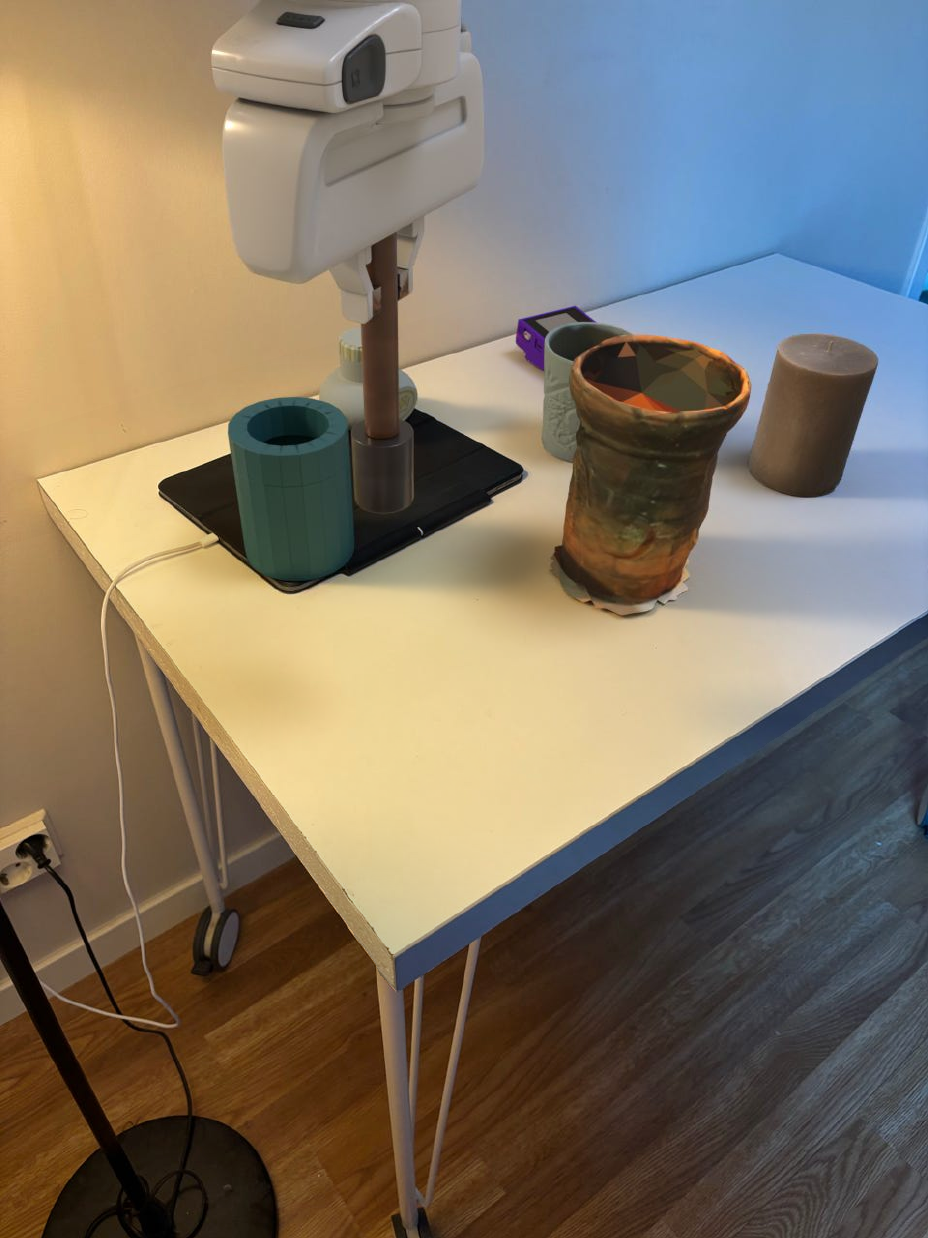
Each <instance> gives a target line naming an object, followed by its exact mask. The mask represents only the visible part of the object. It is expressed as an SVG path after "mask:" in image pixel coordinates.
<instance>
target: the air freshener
mask: <svg viewBox="0 0 928 1238" xmlns="http://www.w3.org/2000/svg"><path fill="white" fill-rule="evenodd" d="M338 351H339V367H337V368H336V369H334V370H333V371H332V372H330V373H329V375H327V376H326V377H325V379H324V381H322V383H321V385H320V387H319V391H318V400H320V401H323V402H327V403H330V404H331V405H333V406H335V407H337V408H338V409H340V410H341V412H342V413H343V414H344V415H345V416H346V418H347V423H348V431H351V430H352V428H353V426H354V425H355V424H356V423H358V422H359V421H361V420H364V395H363V370H362V344H361V326H355V327H351V328H349V329H346V330H344V332H342V334H340V336H339V338H338ZM418 397H419V394H418V389H417V386H416V385H415V382H414V380H413V379H412V378H411V377H410V376H409V374H407V373H406V372H405V371H404V370H402V369H401V368H399V419H401V420H403V421H406V420H407V419H408V418H409V416H410V415H411V414H412V413H413V411H414V409H415V407H416V406H417V404H418Z"/></svg>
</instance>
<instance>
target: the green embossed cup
mask: <svg viewBox="0 0 928 1238" xmlns="http://www.w3.org/2000/svg"><path fill="white" fill-rule="evenodd" d="M596 322H597V321H596ZM596 322H577V323H569V324H565V325H561V326H559V327H556V328H554V329H553V330H551V331H550V332H549V333H548V334H547V336H546V338H545V353H544V369H545V371H544V375H543V376H544V377H543V394H544V395H543V401H542V402H543V403H542V404H543V406H542V410H543V411H542V430H541V443H542V446H543V448H544V449H545V451H546V452H547V453H548V454H550V455H551V456H553V457H555V458H557V459H559V460H560V461H561V460H562V461H565V462H568V463H572V464H573V457H574V454H575V452H576V450H577V441H576V432H577V431H578V430H579V426H580V420H579V418H578V416H577V413H576V408H577V406H576V404H575V402H574V399H573V397H572V395H571V391H570V384H569V376H570V372H571V369H572V365H573V363H574V359H575V358H576V357H578V356H579V355H580V354H581V353H583V352H585V351H586V350H588V349H590V348H592V347H594V346H596V345H598V344H600V343H601V342H603V341H604V340H606V339H610V338H613V337H616V336H621V335H635V334H634V333H632V332H631V331H629V330H626V329H624V328H622V327H619V326H615V325H612V324H608V323H604V322H597V323H596Z"/></svg>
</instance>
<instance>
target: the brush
mask: <svg viewBox="0 0 928 1238" xmlns="http://www.w3.org/2000/svg"><path fill="white" fill-rule="evenodd" d="M371 259H372V260H371V263H369V264H367V265H366V269H367V272H368V275H369V278H370V281H371V283H372V284H373V285H377V286H381V300H380V304H381V312H380V314H379V315H377V316H376V317H374V318H373V319H372V320H370V321H368V322H367V323H365V324H361V323H360V327H361V344H362V370H363V395H364V420H361V421H359V422H358V423H356V424H355V425H354V426H353V428H352V430H350V441H351V442H350V443H351V444H350V445H351V447H350V448H351V463H352V464H351V466H352V485H353V499H354V502H355V503H356V505H357V506H358V507H360V508H361V509H362V510H365V511H367V512H371V513H374V514H393V513H397V512H400V511H402V510H403V511H404V510H405V509H406V508H408V507H409V506H410V505H411V504H412V502H413V501H414V497H415V483H414V482H415V477H414V476H415V471H414V469H415V466H414V465H415V461H414V460H415V458H414V457H415V455H414V454H415V453H414V452H415V451H414V450H415V449H414V447H415V446H414V445H415V442H414V441H415V440H414V438H415V437H414V436H415V435H414V434H415V433H414V429H413V427H412V425H411V424H410V423H408V422H407V421H406V420H404V421H403V420H401V419H399V369H400V367H399V366H400V364H399V363H400V362H399V361H400V360H399V359H400V358H399V356H400V355H399V301H398V275H397V232H395V233H393V234H391V235H389V236H388V237H386V238H384V239H382V240H380V241H379V242H377V243H375V244H373V245H372V246H371Z"/></svg>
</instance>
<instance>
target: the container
mask: <svg viewBox="0 0 928 1238" xmlns="http://www.w3.org/2000/svg"><path fill="white" fill-rule="evenodd" d="M227 436H228V437H227V438H228V444H229V450H230V456H231V457H230V459H231V462H232V471H233V477H234V485H235V490H236V498H237V506H238V511H239V516H240V517H239V518H240V525H241V532H242V539H243V545H244V552H245V554H246V558H247V561H248V563H249V564H250V566H251V567H252V568H253V569H254V570H255V571H257V572H258V573H260V574H261V575H263V576H265V577H268V578H271V579H275V580H279V581H284V582H285V581H286V582H305V581H306V582H307V581H313V580H318V579H321V578H324V577H326V576H330V575H332V574H334V573H336V572H337V571H339V570H340V569H342V568H343V567H345V566H346V565H347V563H349V561H350V560H351V558H352V556H353V554H354V552H355V551H354V550H355V531H354V512H353V495H352V494H353V493H352V492H353V491H352V475H351V474H352V473H351V455H350V440H349V439H350V437H349V430H348V423H347V418H346V416H345V415H344V414H343V413H342V412H341V410H340V409H338V408H337V407H335V406H333V405H331V404H330V403H327V402H323V401H320V400H319V399H317V398H311V397H304V396H303V397H302V396H285V397H284V396H281V397H275V398H274V397H273V398H270V399H265V400H261V401H258V402H254V403H253V404H250V405H247V406H245V407H243V408H242V409H241V410H239V411H237V412H235V414H233V416H232V418H231V419H230V421H229V422H228V425H227Z"/></svg>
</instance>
